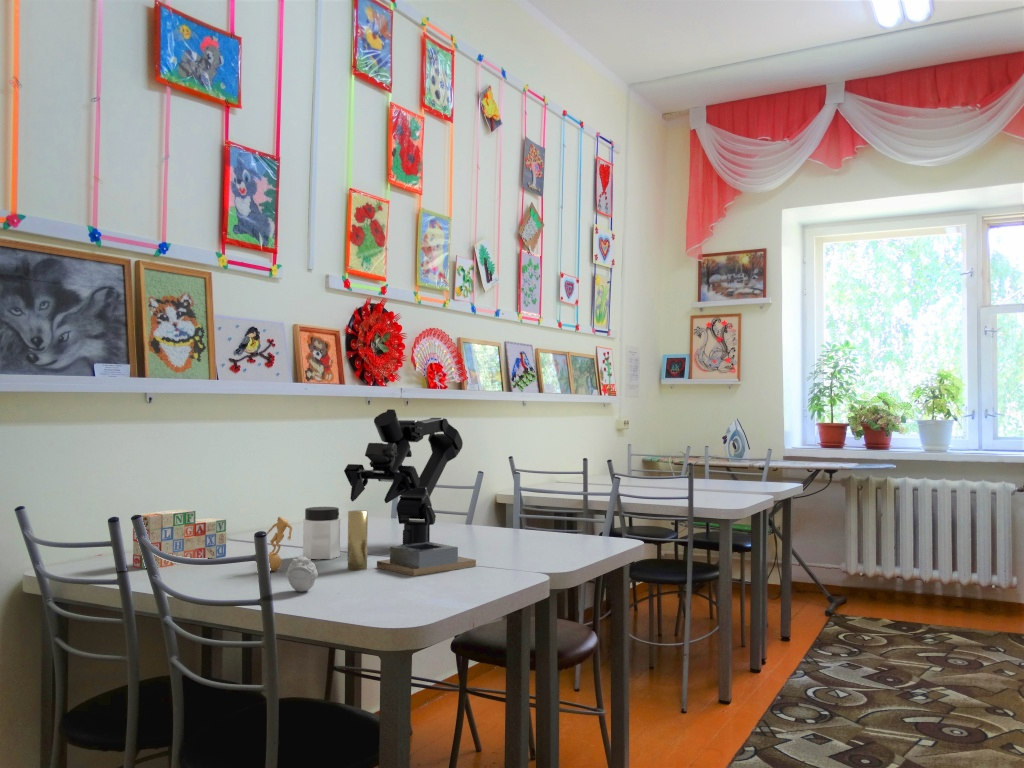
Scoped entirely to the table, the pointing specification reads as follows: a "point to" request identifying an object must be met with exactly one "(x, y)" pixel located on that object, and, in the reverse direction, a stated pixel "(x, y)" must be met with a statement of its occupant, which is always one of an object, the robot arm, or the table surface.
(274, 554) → the figurine
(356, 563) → the cylinder
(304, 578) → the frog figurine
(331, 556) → the jar
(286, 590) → the table surface
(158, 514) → the stack of blocks
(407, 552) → the jig
